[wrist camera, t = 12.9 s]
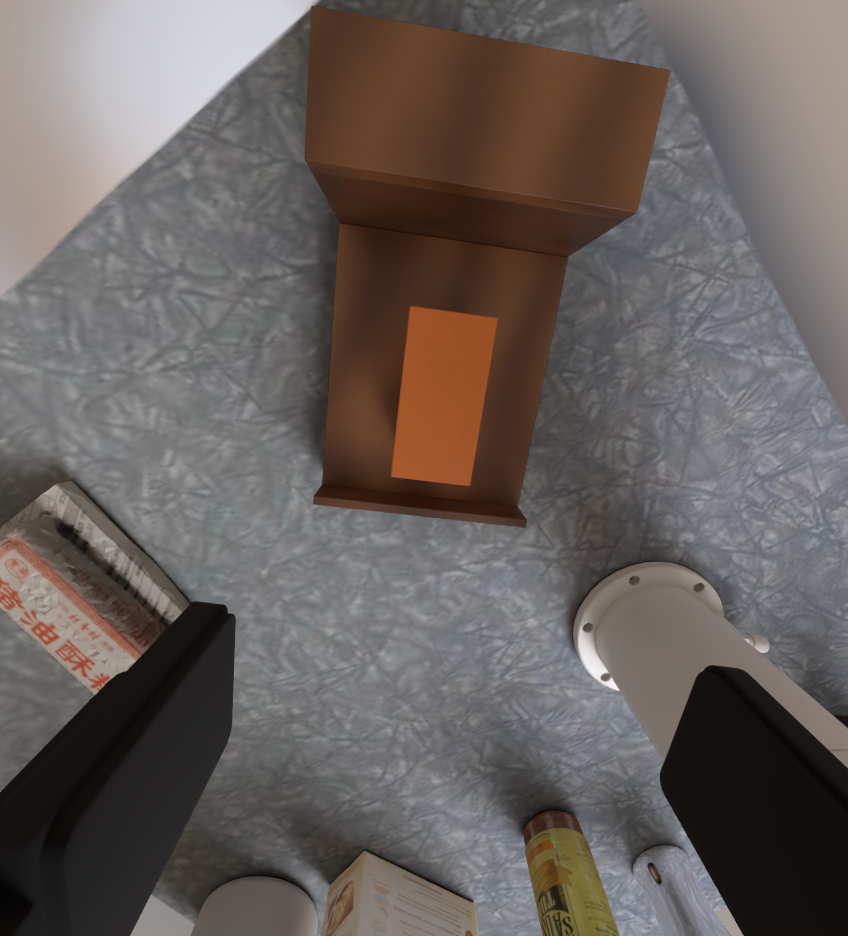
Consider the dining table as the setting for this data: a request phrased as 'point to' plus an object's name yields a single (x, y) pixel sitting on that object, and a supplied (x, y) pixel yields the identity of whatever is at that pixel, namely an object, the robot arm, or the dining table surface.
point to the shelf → (458, 226)
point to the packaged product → (82, 586)
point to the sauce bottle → (565, 878)
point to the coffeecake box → (393, 904)
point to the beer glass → (675, 893)
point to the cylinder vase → (257, 910)
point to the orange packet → (442, 394)
